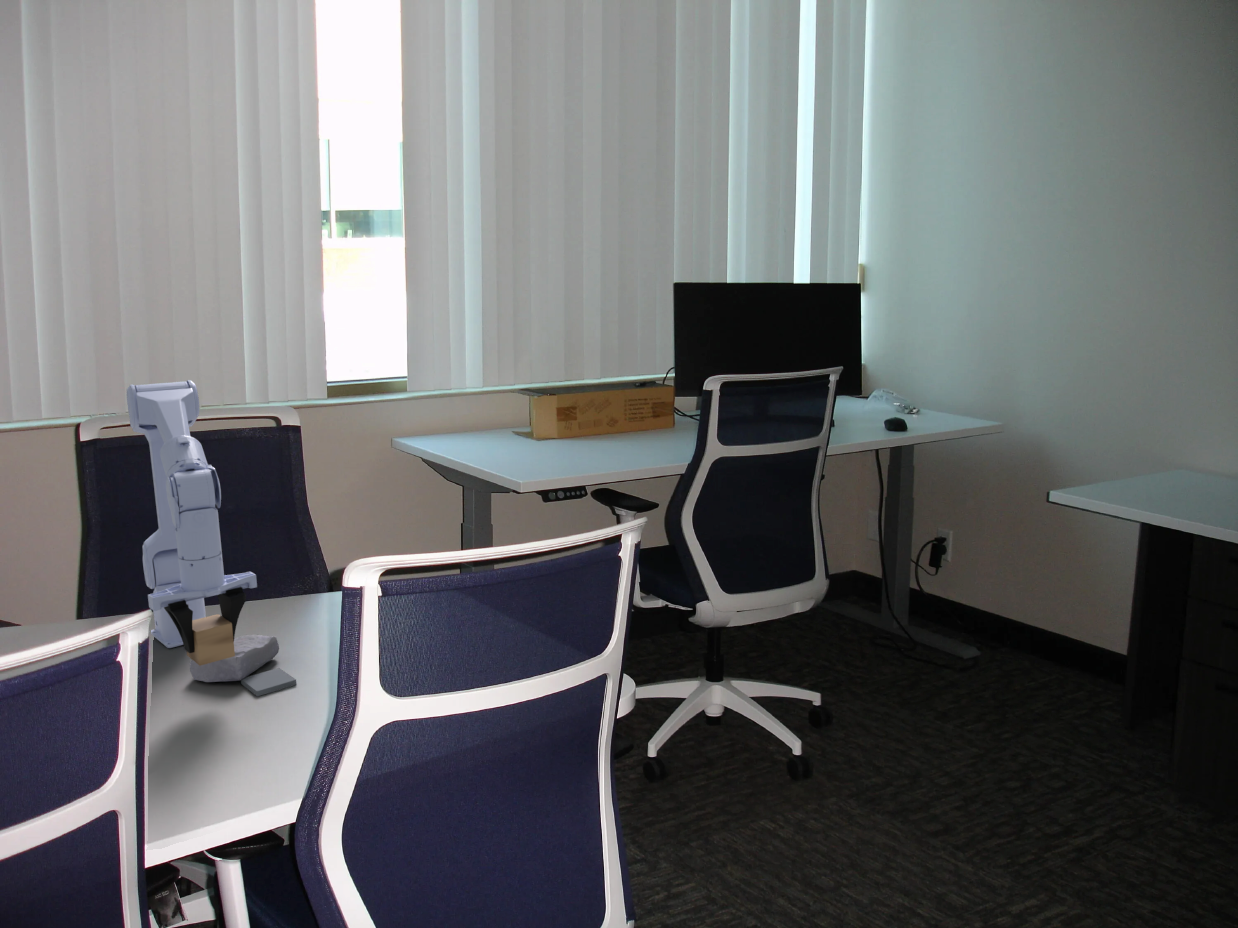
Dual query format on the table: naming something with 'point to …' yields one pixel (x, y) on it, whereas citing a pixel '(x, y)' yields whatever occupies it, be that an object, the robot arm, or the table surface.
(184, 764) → the table surface
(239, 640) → the stone block
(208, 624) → the tan cube
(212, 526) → the robot arm
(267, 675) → the charcoal pad
